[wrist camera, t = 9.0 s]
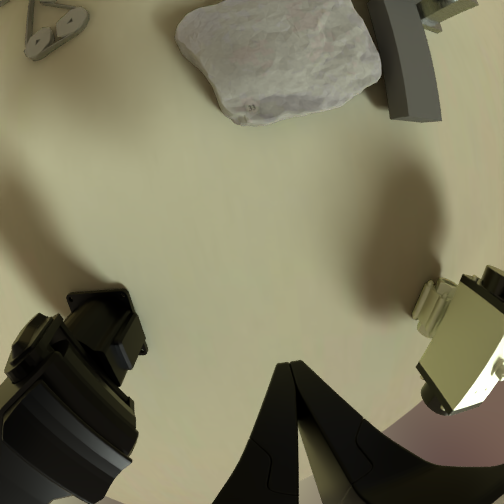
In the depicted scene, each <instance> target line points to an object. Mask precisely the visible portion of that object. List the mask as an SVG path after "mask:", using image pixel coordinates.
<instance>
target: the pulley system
mask: <svg viewBox="0 0 504 504" xmlns="http://www.w3.org/2000/svg"><path fill="white" fill-rule="evenodd" d="M8 1H9V0H1V1H0V7H1V6H2V5H3V4H5V3H6V2H8ZM55 1H57V0H40V3H41V4H42V5H45V6H53V7H60V8H66V9H71V10H70V11H68V12H67V13H66V14H65V15H64V16H63V17H62V18H61V19H60V20H59V21H58V22H57V23H56V33H57V37H62V39H60V40H59V41H57V42H55V43H54V35H53V31H51V28H50V27H43V28H41V29H40V30H39V31H38V32H36V33H35V34H34V35H33V36H32V24H33V10H34V0H29V6H28V14H27V24H26V40H25V50H24V53H25V55H26V56H27V57H28V58H30V59H32V60H33V61H36V60H40V59H42V58H44V57H45V56H46V55H48V54H49V53H50V52H52V51H53V50H55V49H56V48H58V47H59V46H61V45H62V44H64V43H65V42H67V41H68V40H70V39H71V38H73V37H75V36H76V35H78V34H79V33H80V32H81V31H82V30H83V29H84V28H85V27H86V25H87V23H88V21H89V13H88V11H87V10H86V9H84V8H83V7H76V6H69V5H62V4H53V3H54V2H55ZM53 43H54V44H53Z"/></svg>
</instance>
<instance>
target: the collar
mask: <svg viewBox="0 0 504 504" xmlns="http://www.w3.org/2000/svg"><path fill="white" fill-rule="evenodd" d="M420 1H422V0H370V1H369V2H368V3H367V6H368V9H369V13H370V16H371V20H372V24H373V27H374V31H375V35H376V39H377V44H378V48H379V53H380V57H381V62H382V68H383V73H384V79H385V85H386V91H387V98H388V106H389V114H390V119H394V120H404V121H413V122H421V123H423V122H435V121H442V118H441V109H440V102H439V95H438V89H437V83H436V77H435V72H434V67H433V63H432V58H431V54H430V50H429V46H428V42H427V39H426V35H425V32H424V28H423V25H422V22H421V19H420V16H419V13H418V10H417V7H416V4H417V3H419V2H420Z"/></svg>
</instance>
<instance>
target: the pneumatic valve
mask: <svg viewBox="0 0 504 504" xmlns="http://www.w3.org/2000/svg"><path fill="white" fill-rule="evenodd" d="M433 284H434V283H433V281H432V280H430V281H428V283H425V285H424V287H423V290H422V292H421V294H420V297H419V299H418V301H417V303H416V306H415V308H414V310H413V312H412V315H413V316H412V318H413V319H415V320H419V323H418V325H417V330H418V331H419V332H420V333H421V334H422V335H424V336H425V337H428V338H432V340H431V342H430V344H429V346H428V347H427V349H426V351H425V353H424V354H423V356H422V358H421V359H420V361H419V363H418V364H417V366H416V368H417V370H418V371H419V373H420V374H421V376H420V378H421V379H422V380H425V381H426V383H425V384H424V386H423V387H422V389H421V396H422V399H423V401H424V402H425V404H426V405H427V406H428V407H429V408H430V409H431V410H432V411H434V412H435V413H437V414H440V415H444V416H450V415H454V414H457V413H460V412H464V411H467V410H470V409H473V408H476V407H479V406H480V404H481V403H482V402H483V401H484V399H485V398H486V397H487V395H488V394H489V393H490V391H491V390H492V389H493V387H494V386H495V384H496V383H497V382H498V380H500V381H502V380H504V271H502V270H500V269H498V268H496V267H493V266H491V265H487V266H486V268H485V271H484V273H483V276H482V278H481V279H480V278H478V277H477V276H475V275H473V276H469V275H465V274H463V275H462V277H461V280H460V282H459V284H458V285H457V284H455V283H454V282H452V281H450V280H448V279H445V278H439V279H438V281H437V283H436V286H433Z"/></svg>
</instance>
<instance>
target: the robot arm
mask: <svg viewBox="0 0 504 504" xmlns="http://www.w3.org/2000/svg"><path fill="white" fill-rule="evenodd" d="M121 294H124V295H125V297H123V296H122V295H121ZM71 298H72V299H73V300H72V299H71ZM66 299H67V302H68V304H69V307H70V310H71V314H70V315H69V316H68V317H67V318H66V319H65V320H64V322H63V318H62V317H61V315H60V314H59V313H58V314H56V315H55V316H53V317H48V316H47V317H46V316H45V315H43V314H41V313H38V314H37V315H35V316H34V317H33V318H32V319H31V320H30V321H29V322H28V323H27V324H26V325H25V327H24V328H23V329H22V330H21V331H20V333H19V335H18V336H17V338H16V340H15V341H14V343H13V344H12V351H11V353H10V356H9V359H8V361H7V364H6V367H5V370H4V373H5V374H6V375H7V376H8V377H7V378H6V379H5V381H4V382H3V383H2V384H1V385H0V504H50V503H51V502H52V501H53V500H56V499H60V498H65V497H69V496H75V497H77V498H79V499H80V500H82V501H84V502H86V503H88V504H95V503H96V502H98V501H99V500H102V499H103V498H104V496H105V495H106V493H107V491H108V489H109V487H110V485H111V484H112V482H113V480H114V479H115V478H116V477H117V475H118V474H119V473H120V472H121V471H122V470H123V469H124V468H126V467H127V466H128V465H130V464H131V463H132V459H131V458H129V456H130V454H131V453H132V451H133V449H134V447H135V444H136V442H137V439H138V434H139V432H138V431H137V430H136V417H135V413H134V401H133V400H132V399H131V398H130V397H127V396H126V395H125V394H124V393H123V392H122V391H121V390H120V389H119V388H118V387H120V386H121V384H122V382H123V380H124V377H125V375H126V373H127V370H132V368H133V367H134V364H135V362H136V360H137V357H138V355H146V354H147V352H148V347H147V344H146V342H145V339H146V337H145V334H144V332H143V329H142V326H141V323H140V320H139V317H138V315H137V313H136V312H135V310H134V307H133V304H132V301H131V298H130V295H129V292H128V291H127V290H126V289H111V290H99V291H85V292H71V293H69V294H68V295H67V297H66ZM141 349H143V350H141ZM298 428H299V431H300V434H301V438H302V441H303V444H304V447H305V450H306V453H307V456H308V460H309V463H310V466H311V469H312V472H313V475H314V478H315V481H316V484H317V487H318V491H319V494H320V497H321V500H322V503H323V504H504V464H502V465H498V466H491V467H456V466H441V465H436V464H433V463H430V462H428V461H425V460H424V459H422V458H420V457H418V456H417V455H415V454H413V453H412V452H410V451H408V450H407V449H405V448H404V447H402V446H400V445H399V444H397V443H396V442H394V441H392V440H391V439H390V438H388V437H387V436H385V435H384V434H383V433H381V432H380V431H379V430H378V429H376V428H375V427H374V426H373V425H372V424H370V423H369V422H368V421H367V420H366V419H363V417H362V416H361V415H360V414H359V413H358V412H357V411H356V410H355V409H353V408H352V407H351V406H350V405H349V404H348V403H347V402H346V401H345V400H344V399H343V398H341V397H340V396H339V395H338V394H337V393H336V392H335V391H334V390H333V389H332V388H331V387H330V386H328V385H327V384H326V383H325V382H324V381H323V380H322V379H321V378H320V377H319V376H318V375H317V374H316V373H315V372H314V371H313V370H311V369H310V368H309V367H308V366H307V365H306V364H305V363H304V362H303V361H302V360H298V361H291V362H290V363H288V362H284V363H278V364H277V365H276V367H275V370H274V373H273V375H272V378H271V381H270V384H269V387H268V390H267V392H266V395H265V398H264V401H263V403H262V406H261V409H260V412H259V414H258V417H257V419H256V422H255V425H254V427H253V430H252V432H251V435H250V439H249V440H248V442H247V445H246V447H245V449H244V452H243V454H242V456H241V458H240V460H239V462H238V464H237V466H236V467H235V469H234V471H233V473H232V474H231V476H230V477H229V479H228V480H227V482H226V483H225V485H224V487H223V488H222V489H221V491H220V492H219V494H218V495H217V497H216V498H215V500H214V501H213V503H212V504H299V498H298V496H299V463H298Z"/></svg>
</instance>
